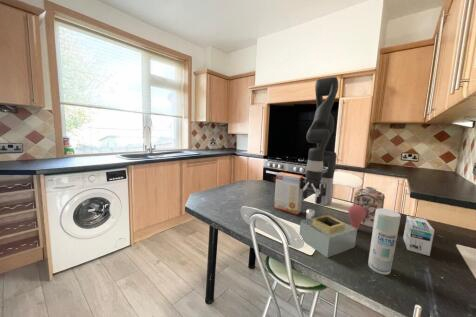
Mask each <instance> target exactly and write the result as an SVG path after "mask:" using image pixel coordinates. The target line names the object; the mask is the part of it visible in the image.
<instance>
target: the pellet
mask: <svg viewBox="0 0 476 317" xmlns="http://www.w3.org/2000/svg"><path fill="white" fill-rule="evenodd" d="M315 214H316V211H315V210H314V209H313V208H307V209H306V213H305V220H306V219H310V218H314V217H315V216H316V215H315Z"/></svg>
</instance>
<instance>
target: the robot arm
mask: <svg viewBox="0 0 476 317" xmlns="http://www.w3.org/2000/svg"><path fill="white" fill-rule="evenodd" d="M314 88H315V89H314V90H315V102H316V110H315V113H314V117H313V121H312V124H310V125H311V126H310V127H309V129H308V130H307V133H306V136H305V138H306V141H307V142H308V143H311V144H316V147H311V148H309V150H308V156H307V157H308V158H307V162H306V172H305V177H303V178H302V179H301V185H300V188H301V189H302V198H303V199H308V193H309V191H308V190H312V191H314V193H315V196H314V203H315V204H317V205H320V206H330V205H331V204H332V202H333V201H332V200H333V192H334V189H333V184H334V175H335V170H336V165H337V153H336V152H335V151H331V150H330V151H329V150H326V149H327V148H326V147H327V146H328V144H329V141H330V138H331V136H332V134H333V133H334V130H335V119H334V116H333V114H332V113H331V111H332V109H333V108H332V107H333V105H334V102H335V100H336V97H337V94H338V91H339V90H338V89H339V79H338V78H337V77H336V76H335V77H334V76H332V77H325V78H324V77H323V78H318V79H317V80H316V81H315V87H314ZM324 97H326V98H325V100H324ZM324 167H327V168H326V169H324Z"/></svg>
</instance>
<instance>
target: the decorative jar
mask: <svg viewBox="0 0 476 317" xmlns="http://www.w3.org/2000/svg"><path fill="white" fill-rule="evenodd" d="M385 199H386V197H385V193H382V192H380V191H378V190H377V188H375V187H372V186H365V187H364V188H358V189H356V191H355V192H354V196H353V201H352V205H360V206H362V207H363V208H364V209H365V211H366V216H365V218H364V219H363V220H362V221H361V224H360V225H363V226H366V227H369V228H372V229H373V226H374V219H375V212H376V209H379V208H382V209H384V205H385Z"/></svg>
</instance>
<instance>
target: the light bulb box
mask: <svg viewBox="0 0 476 317" xmlns="http://www.w3.org/2000/svg"><path fill="white" fill-rule="evenodd" d="M434 236H435V229H434V227H433V226H432V225H431V223H430V222H429V221H428V220H427V219H424V218H419V217H415V216H410V215H406V218H405V226H404V233H403V236H402V238H403V242H404V244H405V247H406V249H407V251H411V252H412V253H413V252H415V253H418V254H421V255H424V256H429V257H430V256H431V255H430V254H431V251H432V244H433V240H434Z"/></svg>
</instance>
